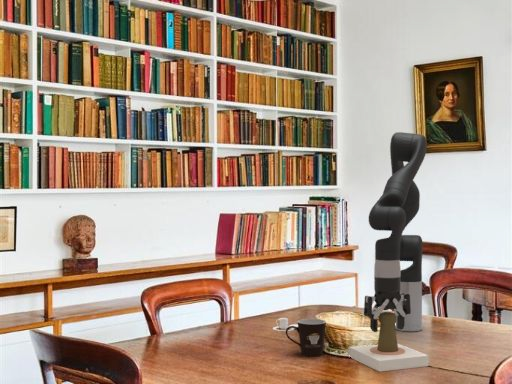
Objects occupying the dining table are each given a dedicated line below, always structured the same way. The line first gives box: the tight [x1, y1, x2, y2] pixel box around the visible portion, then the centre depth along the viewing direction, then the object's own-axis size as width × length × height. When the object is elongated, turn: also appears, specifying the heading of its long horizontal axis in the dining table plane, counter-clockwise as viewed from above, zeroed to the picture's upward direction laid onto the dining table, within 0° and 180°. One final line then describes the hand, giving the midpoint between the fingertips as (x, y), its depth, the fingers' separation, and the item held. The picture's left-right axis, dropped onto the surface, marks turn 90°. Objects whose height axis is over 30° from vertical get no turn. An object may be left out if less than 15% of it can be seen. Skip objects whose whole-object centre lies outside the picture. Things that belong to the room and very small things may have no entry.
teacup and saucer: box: [272, 317, 298, 332], centre depth 259 cm, size 9×8×4 cm
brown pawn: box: [377, 311, 399, 352], centre depth 213 cm, size 6×6×11 cm
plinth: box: [348, 342, 430, 373], centre depth 213 cm, size 18×16×3 cm
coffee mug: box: [285, 318, 327, 358], centre depth 223 cm, size 12×9×10 cm
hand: (387, 330), depth 213 cm, fingers open, 8 cm apart
